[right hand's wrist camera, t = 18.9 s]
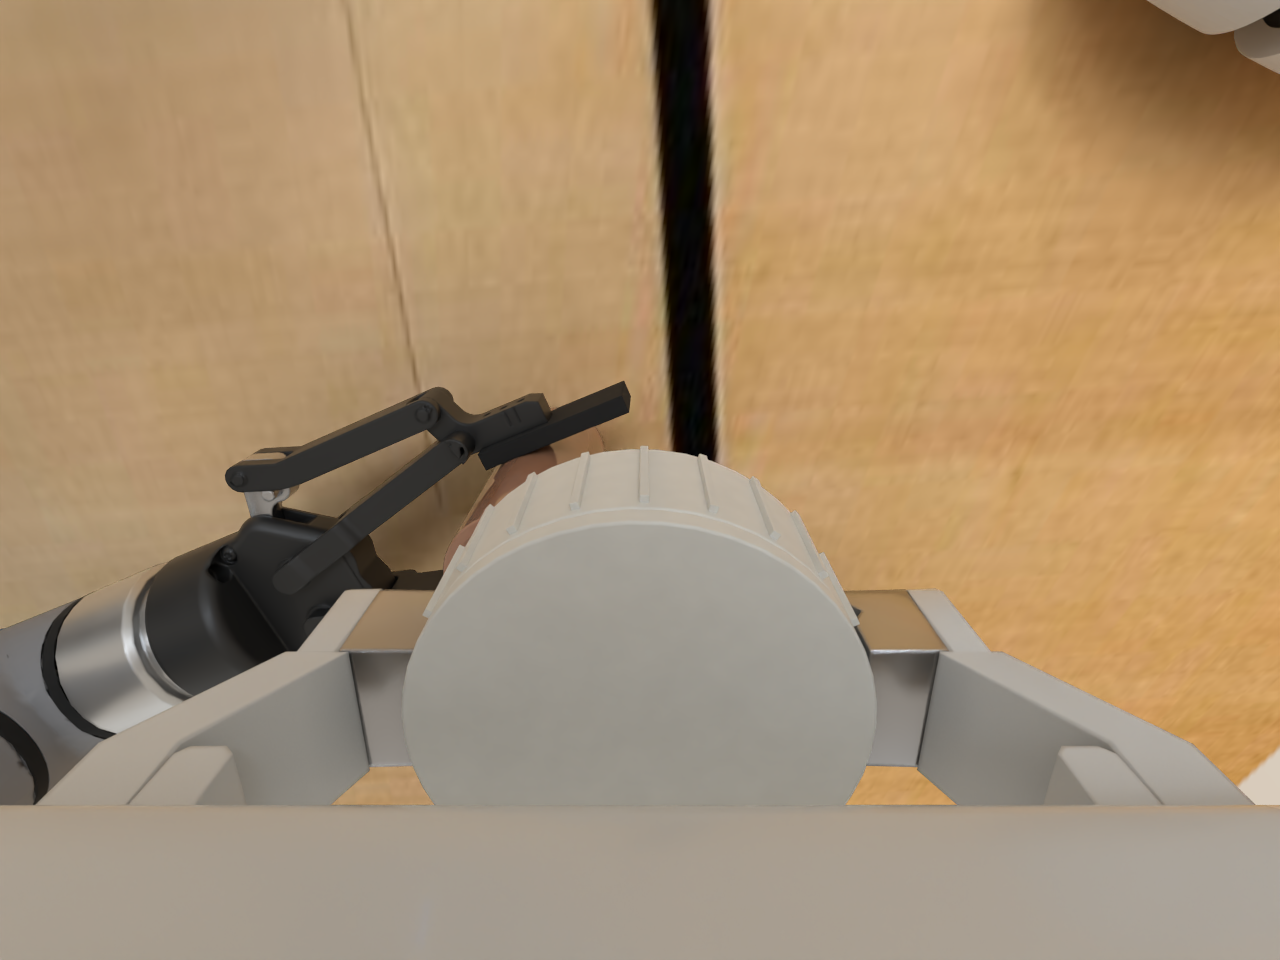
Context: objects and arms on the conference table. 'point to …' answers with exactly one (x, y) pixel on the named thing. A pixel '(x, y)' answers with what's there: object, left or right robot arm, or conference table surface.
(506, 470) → the pinkish brown bottle
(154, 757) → the right robot arm
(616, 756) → the lid
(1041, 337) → the conference table surface
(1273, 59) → the projector
